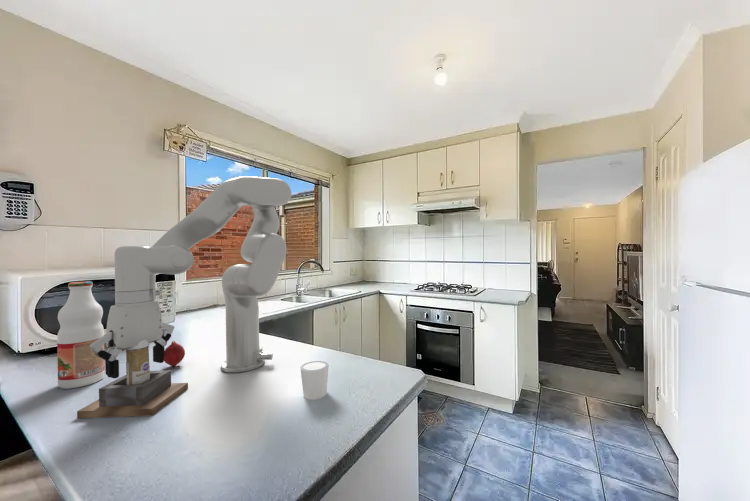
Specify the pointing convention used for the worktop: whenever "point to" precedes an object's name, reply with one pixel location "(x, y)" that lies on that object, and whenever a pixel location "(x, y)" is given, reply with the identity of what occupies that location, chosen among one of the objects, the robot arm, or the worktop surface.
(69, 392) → the worktop surface
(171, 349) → the onion
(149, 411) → the socket stand
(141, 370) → the sprinkles bottle
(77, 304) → the fruit juice
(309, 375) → the white cup
